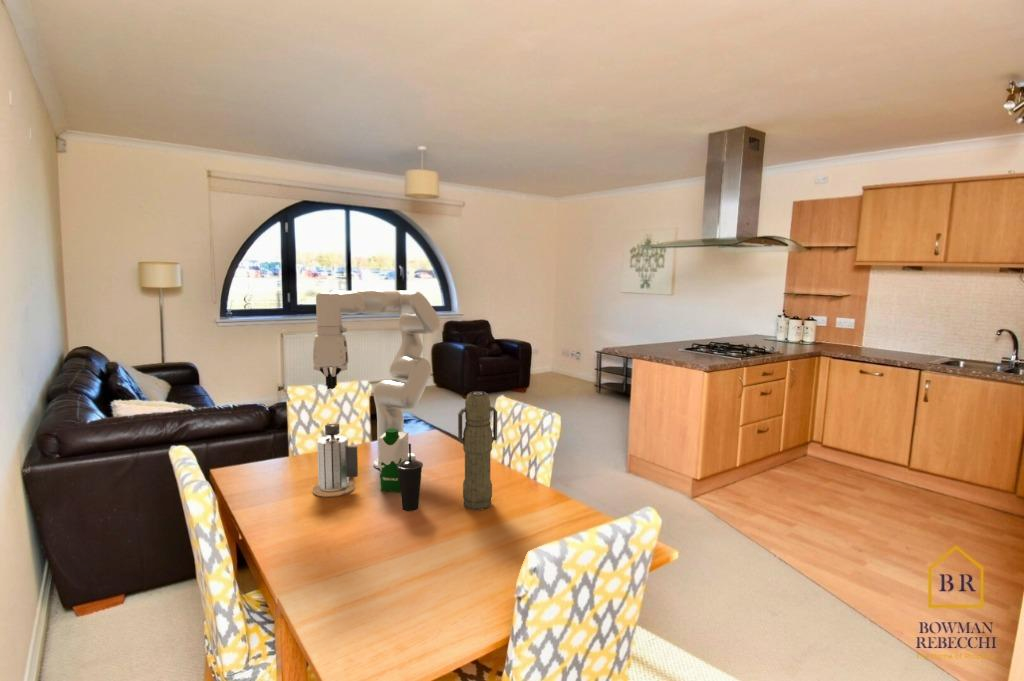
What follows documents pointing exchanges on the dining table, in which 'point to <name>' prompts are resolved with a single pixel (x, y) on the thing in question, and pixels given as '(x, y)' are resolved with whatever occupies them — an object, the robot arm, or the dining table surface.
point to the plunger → (332, 430)
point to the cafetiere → (335, 466)
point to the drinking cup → (410, 482)
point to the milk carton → (392, 458)
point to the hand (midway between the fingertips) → (331, 388)
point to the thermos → (477, 449)
